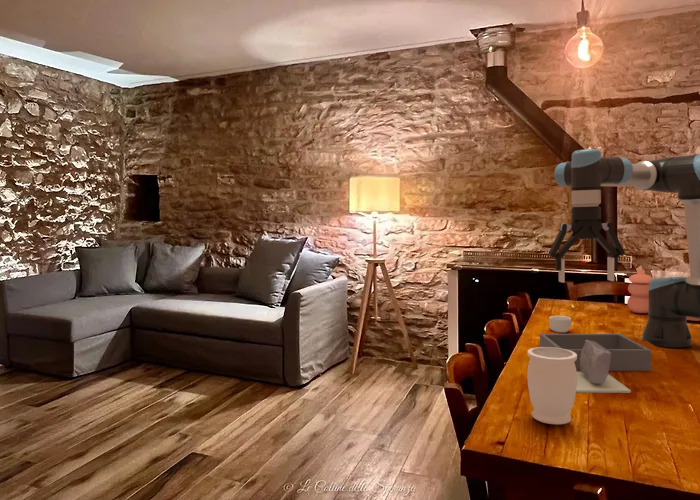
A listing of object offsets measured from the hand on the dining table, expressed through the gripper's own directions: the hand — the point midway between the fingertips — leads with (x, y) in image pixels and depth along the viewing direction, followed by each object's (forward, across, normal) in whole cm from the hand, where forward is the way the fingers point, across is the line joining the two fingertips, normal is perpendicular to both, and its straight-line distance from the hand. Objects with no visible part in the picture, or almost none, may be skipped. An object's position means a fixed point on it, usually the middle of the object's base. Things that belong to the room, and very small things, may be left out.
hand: (586, 281), depth 153 cm
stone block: (+26, +2, +10) cm, 27 cm away
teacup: (+27, -10, -52) cm, 59 cm away
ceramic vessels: (+29, -68, -83) cm, 111 cm away
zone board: (+26, +4, +10) cm, 28 cm away
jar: (+26, +21, +35) cm, 48 cm away
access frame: (+26, -6, -11) cm, 29 cm away
